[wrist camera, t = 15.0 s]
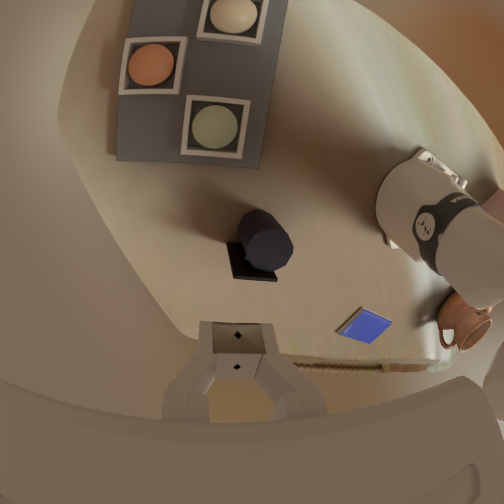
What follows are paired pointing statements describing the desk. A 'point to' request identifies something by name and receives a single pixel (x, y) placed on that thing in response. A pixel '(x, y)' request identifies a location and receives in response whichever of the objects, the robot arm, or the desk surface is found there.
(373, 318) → the hard drive
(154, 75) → the terracotta button
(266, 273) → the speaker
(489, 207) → the greeting card
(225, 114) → the sage button
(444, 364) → the desk surface
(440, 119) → the desk surface
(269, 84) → the button console
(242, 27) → the sand button
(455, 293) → the ceramic jug
